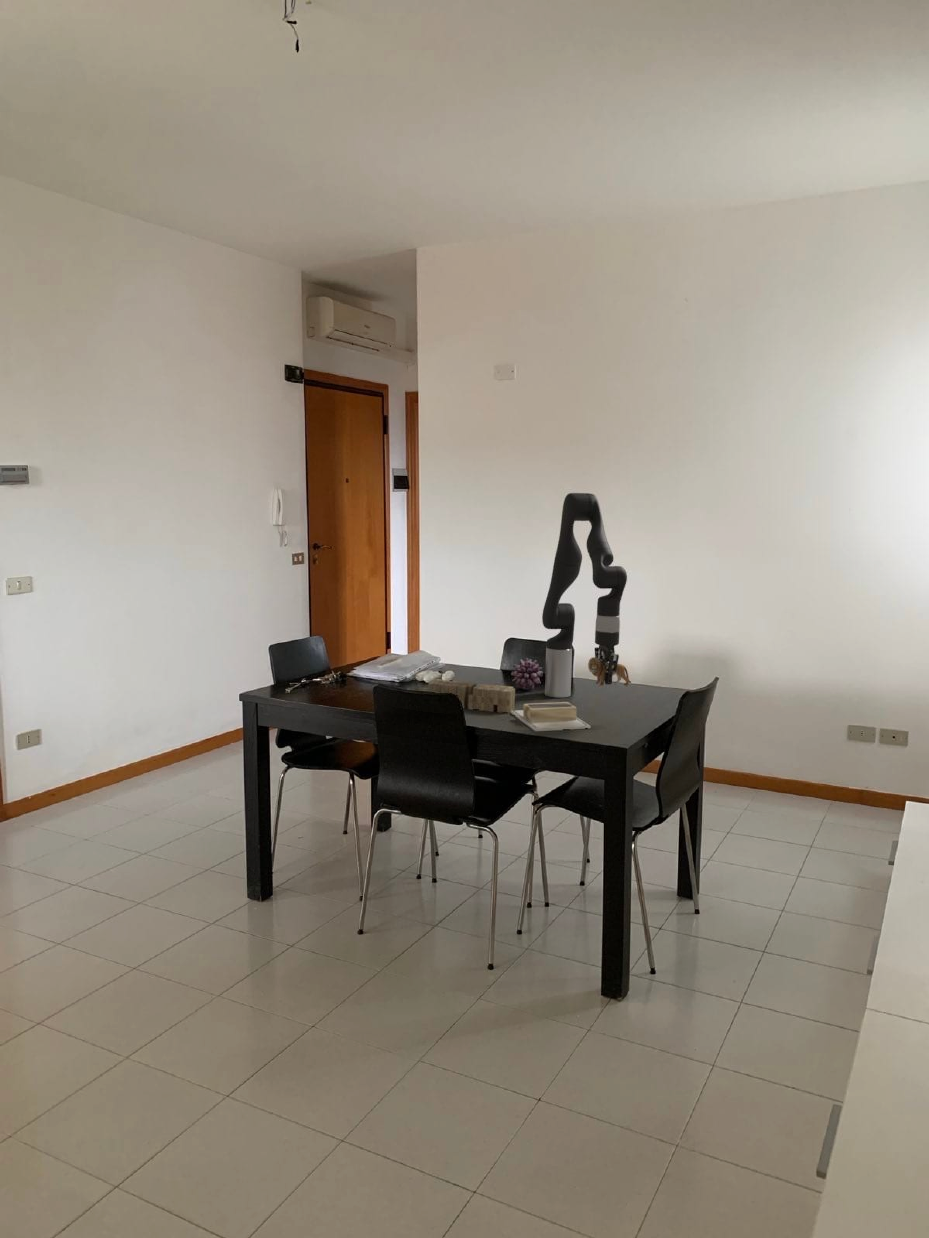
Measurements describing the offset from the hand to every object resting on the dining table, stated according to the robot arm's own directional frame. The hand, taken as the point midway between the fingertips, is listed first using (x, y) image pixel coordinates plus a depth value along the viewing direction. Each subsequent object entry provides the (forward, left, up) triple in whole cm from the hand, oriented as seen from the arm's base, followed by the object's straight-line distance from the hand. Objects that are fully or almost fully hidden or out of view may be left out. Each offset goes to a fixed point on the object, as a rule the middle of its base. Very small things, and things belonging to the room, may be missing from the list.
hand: (605, 682), depth 289 cm
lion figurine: (+1, +1, -1) cm, 2 cm away
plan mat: (-4, -17, -12) cm, 21 cm away
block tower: (-27, -36, -13) cm, 47 cm away
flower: (-50, -9, -13) cm, 52 cm away
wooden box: (-4, -17, -12) cm, 21 cm away
